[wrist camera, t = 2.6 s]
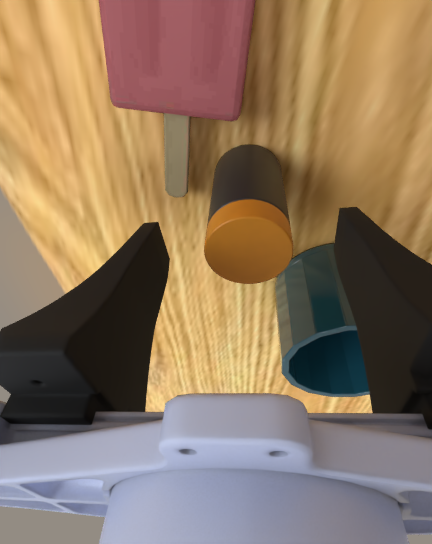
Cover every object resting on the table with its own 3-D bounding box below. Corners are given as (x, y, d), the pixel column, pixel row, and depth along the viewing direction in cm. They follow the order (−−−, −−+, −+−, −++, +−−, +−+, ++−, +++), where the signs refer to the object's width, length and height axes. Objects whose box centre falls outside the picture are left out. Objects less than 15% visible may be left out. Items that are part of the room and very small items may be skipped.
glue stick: (281, 140, 15) (295, 213, 11) (281, 202, 18) (292, 282, 13) (210, 147, 16) (196, 220, 12) (219, 207, 18) (210, 286, 14)
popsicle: (120, 198, 16) (24, -538, 6) (128, 182, 17) (60, -460, 7) (227, 210, 16) (324, -491, 6) (228, 193, 18) (312, -422, 7)
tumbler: (404, 238, 19) (450, 323, 15) (378, 317, 24) (406, 397, 20) (274, 246, 20) (282, 327, 16) (275, 320, 25) (281, 397, 21)
